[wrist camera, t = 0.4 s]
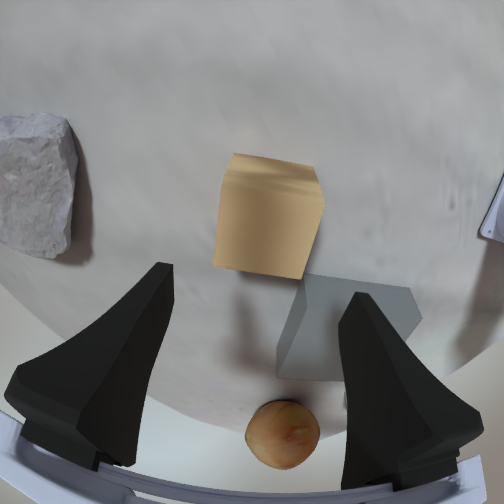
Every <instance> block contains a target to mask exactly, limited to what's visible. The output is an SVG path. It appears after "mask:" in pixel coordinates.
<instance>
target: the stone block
mask: <svg viewBox="0 0 504 504" xmlns="http://www.w3.org/2000/svg"><path fill="white" fill-rule="evenodd" d="M78 159H79V157H78V155H77V152H76V149H75V144H74V140H73V137H72V133H71V129H70V126H69V124H68V122H67V120H66V119H65V118H63V117H61V116H56V115H53V114H50V113H46V112H42V113H38V114H35V115H33V114H31V115H30V116H28V117H21V116H10V117H3V118H1V119H0V242H2V243H4V244H6V245H7V246H8V247H10V248H12V249H15V250H17V251H19V252H21V253H25V254H27V255H30V256H33V257H40V258H52V259H53V258H56V257H57V256H58V255H59V254H63V253H64V252H65V251H67V250H68V249H69V247H70V244H71V219H72V212H73V209H72V204H73V198H74V189H75V181H76V170H77V166H78Z"/></svg>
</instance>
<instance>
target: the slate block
mask: <svg viewBox="0 0 504 504" xmlns="http://www.w3.org/2000/svg"><path fill="white" fill-rule="evenodd" d="M355 291H356V292H364V293H369V295H370V296H371V297H372V298H373V300H374V301H375V302H376V304H377V305H378V306H379V308H380V309H381V311H382V312H383V313H384V315H385V316H386V318H387V319H388V320H389V322H390V323H391V325H392V326H393V327H394V329H395V330H396V331H397V333H398V334H399V335H400V337H401V338H402V339H403V341H404V342H405V341H406V340H407V338H408V337H409V336H410V335H411V333H412V332H413V331H414V329H415V328H416V327H417V325H418V324H419V323H420V321H421V320H422V319H423V318H422V316H421V314H420V311H419V309H418V307H417V304H416V302H415V300H414V297H413V295H412V293H411V291H410V289H409V288H406V287H399V286H391V285H384V284H376V283H369V282H362V281H355V280H348V279H341V278H333V277H326V276H319V275H313V274H306V273H303V276H302V279H301V281H300V284H299V287H298V290H297V293H296V296H295V299H294V301H293V304H292V307H291V310H290V312H289V315H288V318H287V321H286V323H285V326H284V329H283V331H282V334H281V337H280V339H279V342H278V345H277V378H286V379H300V380H318V381H344V375H343V369H342V363H341V357H340V351H339V340H338V323H339V321H340V319H341V318H342V316H343V314H344V312H345V310H346V308H347V306H348V304H349V303H350V301H351V299H352V297H353V295H354V293H355Z"/></svg>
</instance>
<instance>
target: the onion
mask: <svg viewBox="0 0 504 504" xmlns="http://www.w3.org/2000/svg"><path fill="white" fill-rule="evenodd" d="M319 437H320V427H319V425H318V422H317V420H316V418H315V417H314V415H313V414H312V413H311V412H310V411H309V410H308V409H307V408H306V407H304V406H303V405H301V404H298V403H295V402H290V401H274V402H271V403H269V404H267V405H265V406H264V407H262V408H261V409H260V410H258V411H257V412H256V413H255V415H254V416H253V417H252V419H251V421H250V422H249V424H248V426H247V429H246V433H245V440H246V443H247V445H248V447H249V448H250V450H251V451H252V453H253V454H254V455H255V456H256V457H257V459H258V460H260V461H261V462H263V463H264V464H266V465H268V466H270V467H272V468H276V469H281V470H287V469H291V468H294V467H296V466H297V465H299V464H301V463H302V462H304V461H305V460H306V459H307V458H308V457H309V456H310V455H311V454H312V452H313V451H314V450H315V448H316V446H317V443H318V441H319Z"/></svg>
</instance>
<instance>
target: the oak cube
mask: <svg viewBox="0 0 504 504" xmlns="http://www.w3.org/2000/svg"><path fill="white" fill-rule="evenodd" d="M325 204H326V200H325V198H324V195H323V192H322V190H321V187H320V184H319V182H318V179H317V176H316V174H315V171H314V169H313V167H311V166H307V165H302V164H296V163H291V162H286V161H281V160H275V159H269V158H263V157H257V156H251V155H245V154H238V153H233V155H232V158H231V160H230V163H229V166H228V168H227V171H226V174H225V177H224V179H223V182H222V187H221V195H220V204H219V213H218V223H217V233H216V243H215V253H214V264H213V266H214V267H220V268H226V269H233V270H240V271H246V272H253V273H259V274H266V275H273V276H280V277H287V278H294V279H301V278H302V275H303V272H304V269H305V266H306V263H307V260H308V257H309V254H310V251H311V248H312V245H313V242H314V239H315V236H316V233H317V229H318V226H319V223H320V220H321V217H322V214H323V210H324V207H325Z"/></svg>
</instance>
